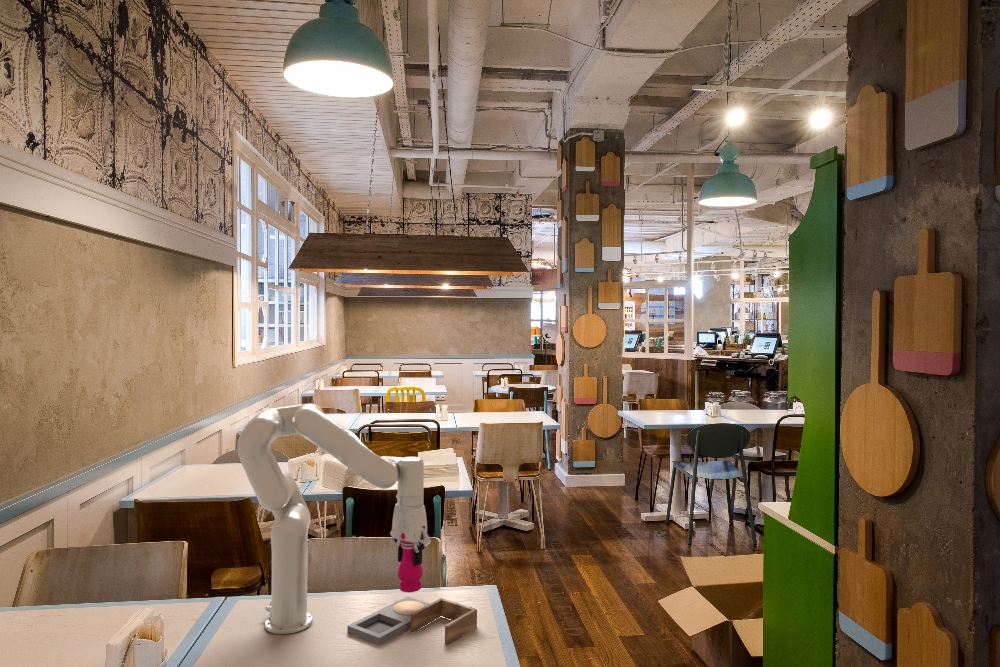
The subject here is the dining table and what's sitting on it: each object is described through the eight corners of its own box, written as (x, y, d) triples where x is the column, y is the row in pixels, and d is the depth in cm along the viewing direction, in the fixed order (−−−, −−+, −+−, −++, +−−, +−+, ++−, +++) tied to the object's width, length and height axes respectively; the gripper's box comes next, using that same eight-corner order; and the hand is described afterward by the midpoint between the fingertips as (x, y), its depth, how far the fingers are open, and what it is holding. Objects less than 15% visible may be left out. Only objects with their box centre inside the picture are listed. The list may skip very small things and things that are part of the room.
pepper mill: (410, 595, 181) (409, 524, 181) (392, 589, 185) (391, 520, 186) (428, 587, 187) (427, 518, 187) (410, 582, 191) (409, 514, 191)
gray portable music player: (347, 632, 175) (347, 624, 175) (407, 603, 194) (407, 595, 194) (379, 645, 168) (379, 636, 168) (437, 613, 188) (438, 605, 188)
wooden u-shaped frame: (410, 631, 176) (410, 613, 176) (440, 615, 186) (441, 597, 186) (447, 645, 168) (447, 626, 168) (476, 627, 179) (477, 609, 179)
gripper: (380, 498, 188) (379, 560, 188) (424, 507, 178) (423, 573, 178) (397, 493, 194) (397, 553, 194) (441, 502, 185) (441, 565, 185)
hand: (409, 562), depth 186 cm, fingers closed on pepper mill, 5 cm apart
